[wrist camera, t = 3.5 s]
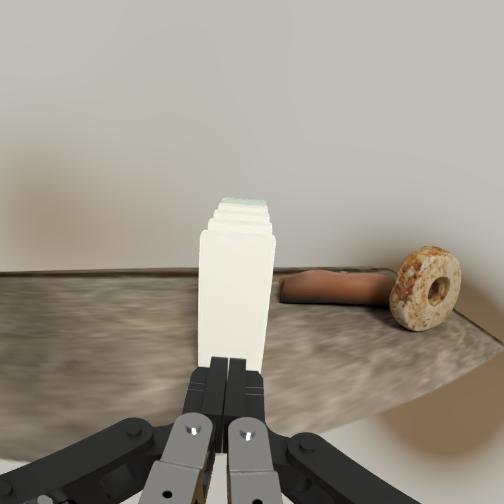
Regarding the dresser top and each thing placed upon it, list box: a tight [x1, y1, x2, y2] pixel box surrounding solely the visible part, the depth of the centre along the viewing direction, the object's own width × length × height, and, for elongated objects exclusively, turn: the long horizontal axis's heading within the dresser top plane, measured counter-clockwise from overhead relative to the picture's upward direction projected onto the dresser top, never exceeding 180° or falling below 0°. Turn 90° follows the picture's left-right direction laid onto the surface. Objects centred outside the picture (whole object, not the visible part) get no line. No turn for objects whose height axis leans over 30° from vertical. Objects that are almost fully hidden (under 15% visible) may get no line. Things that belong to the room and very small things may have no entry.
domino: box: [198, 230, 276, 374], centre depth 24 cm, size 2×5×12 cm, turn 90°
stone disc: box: [389, 246, 461, 331], centre depth 34 cm, size 10×4×10 cm, turn 103°
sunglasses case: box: [279, 270, 395, 306], centre depth 42 cm, size 18×7×7 cm
